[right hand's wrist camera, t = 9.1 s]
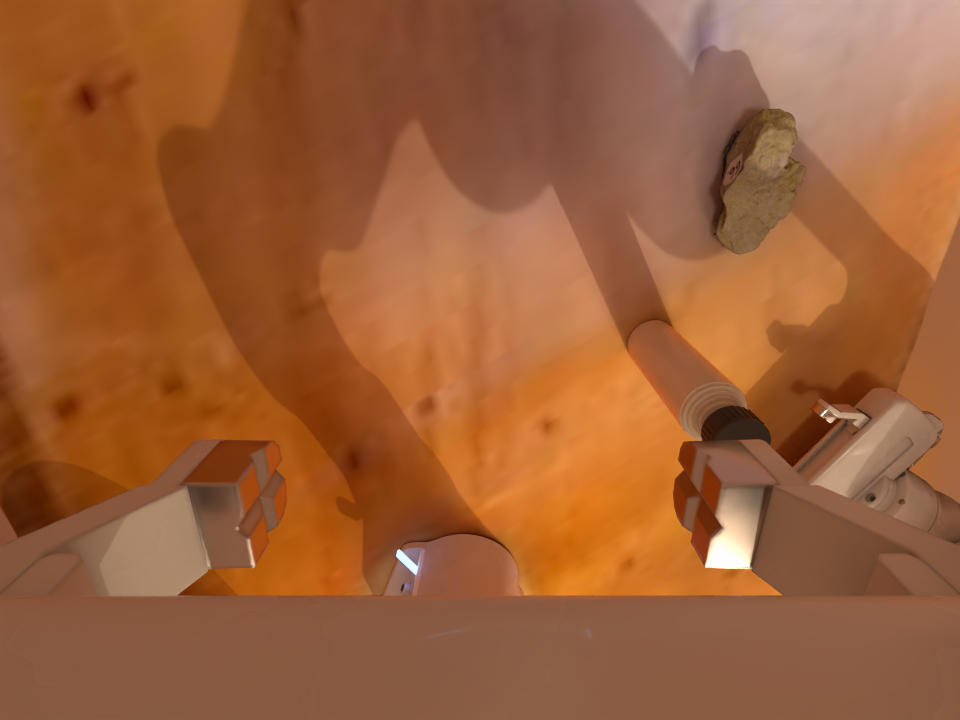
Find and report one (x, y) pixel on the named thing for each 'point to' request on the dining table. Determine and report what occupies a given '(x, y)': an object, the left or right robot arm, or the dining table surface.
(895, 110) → the dining table surface
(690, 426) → the bottle
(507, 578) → the left robot arm
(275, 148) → the dining table surface
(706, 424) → the cap
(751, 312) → the dining table surface
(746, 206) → the rock
